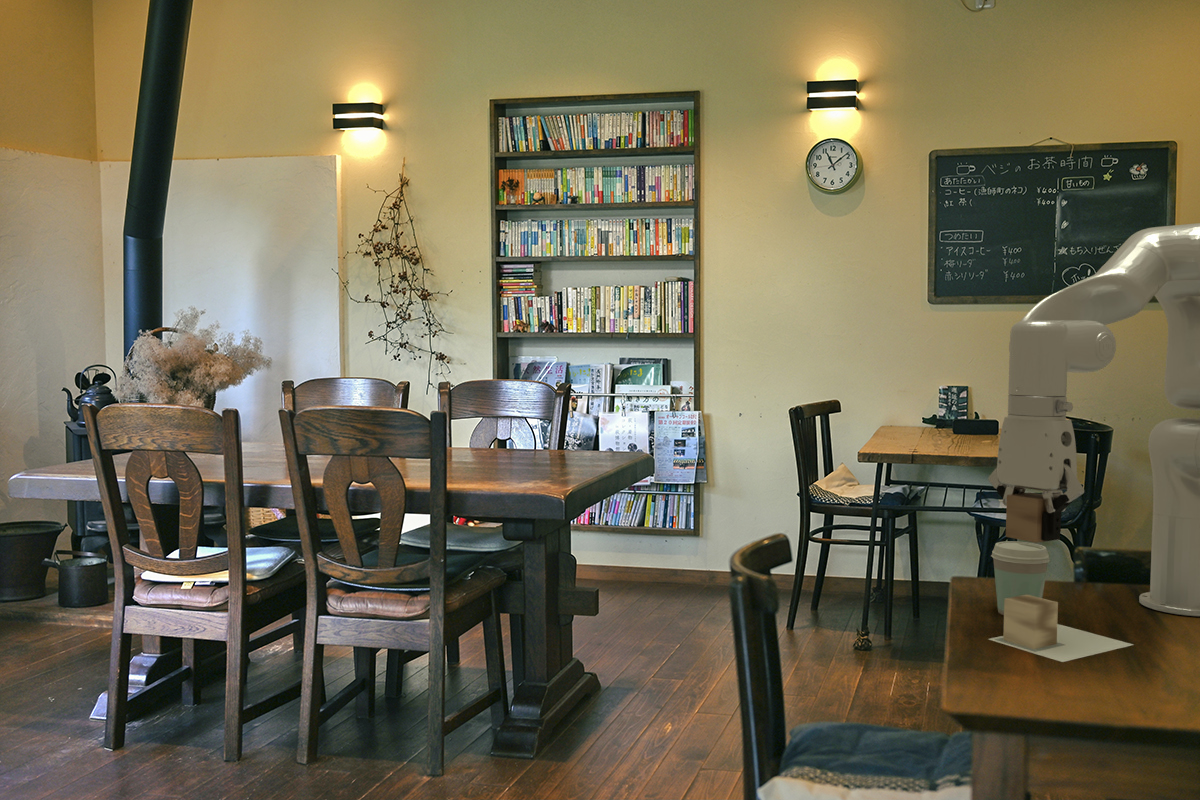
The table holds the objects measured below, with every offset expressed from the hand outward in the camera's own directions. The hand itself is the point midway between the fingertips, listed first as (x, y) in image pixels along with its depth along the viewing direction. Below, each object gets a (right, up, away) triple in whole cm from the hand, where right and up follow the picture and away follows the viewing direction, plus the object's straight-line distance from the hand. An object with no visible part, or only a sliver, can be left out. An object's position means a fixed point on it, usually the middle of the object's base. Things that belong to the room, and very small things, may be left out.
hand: (1032, 535), depth 142 cm
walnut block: (0, 0, 0) cm, 0 cm away
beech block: (0, -15, +1) cm, 15 cm away
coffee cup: (+5, -16, +16) cm, 24 cm away
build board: (+4, -17, +1) cm, 17 cm away
